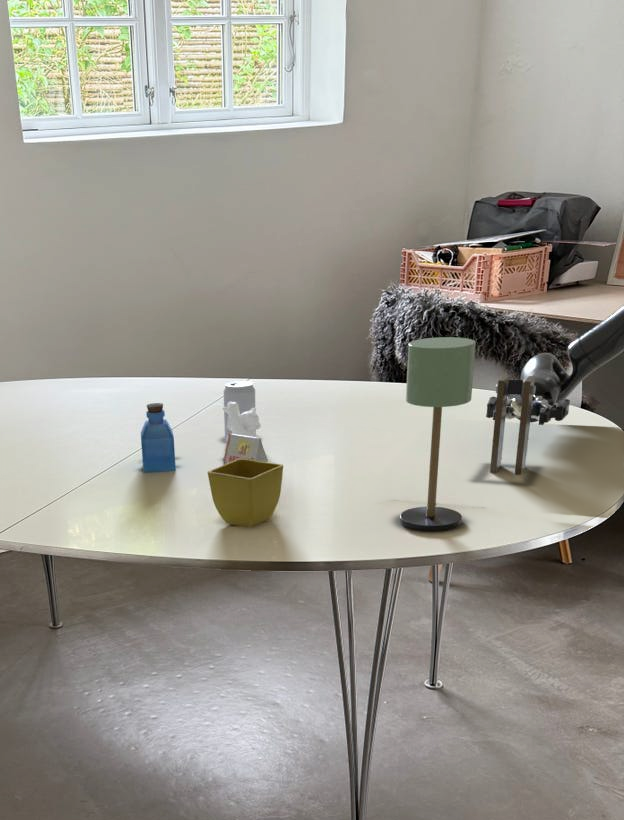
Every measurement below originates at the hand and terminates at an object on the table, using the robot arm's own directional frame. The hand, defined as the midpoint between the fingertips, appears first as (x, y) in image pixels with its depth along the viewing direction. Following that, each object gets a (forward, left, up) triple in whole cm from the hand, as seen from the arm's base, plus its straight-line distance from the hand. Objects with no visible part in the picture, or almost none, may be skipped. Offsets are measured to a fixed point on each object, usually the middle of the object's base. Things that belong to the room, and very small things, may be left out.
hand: (519, 418), depth 165 cm
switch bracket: (+5, +5, -9) cm, 11 cm away
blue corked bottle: (+58, -30, -9) cm, 66 cm away
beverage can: (+38, -40, -9) cm, 55 cm away
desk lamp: (+28, +21, -9) cm, 36 cm away
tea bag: (+48, -7, -9) cm, 49 cm away
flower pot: (+53, +8, -9) cm, 54 cm away
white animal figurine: (+43, -25, -9) cm, 50 cm away
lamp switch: (+2, +3, +2) cm, 4 cm away
